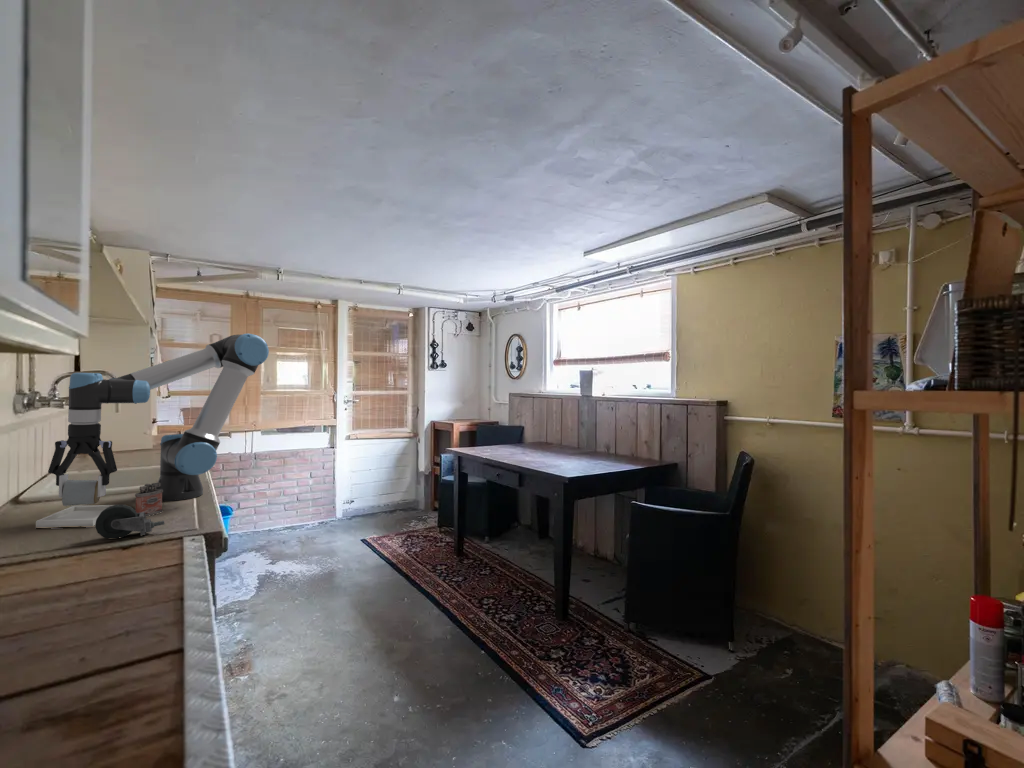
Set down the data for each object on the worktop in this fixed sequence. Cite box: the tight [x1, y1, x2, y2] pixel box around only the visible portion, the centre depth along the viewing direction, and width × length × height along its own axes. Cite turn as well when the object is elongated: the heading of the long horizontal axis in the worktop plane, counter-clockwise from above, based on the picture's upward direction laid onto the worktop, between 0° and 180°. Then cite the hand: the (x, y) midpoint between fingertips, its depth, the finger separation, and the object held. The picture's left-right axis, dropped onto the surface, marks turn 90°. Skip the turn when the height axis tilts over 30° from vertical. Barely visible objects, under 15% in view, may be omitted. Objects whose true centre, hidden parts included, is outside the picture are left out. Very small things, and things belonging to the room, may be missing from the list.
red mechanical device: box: [134, 481, 163, 517], centre depth 155 cm, size 8×3×10 cm, turn 162°
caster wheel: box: [94, 504, 165, 539], centre depth 135 cm, size 6×10×15 cm
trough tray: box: [35, 504, 114, 528], centre depth 147 cm, size 14×16×2 cm
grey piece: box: [61, 479, 101, 507], centre depth 148 cm, size 11×8×8 cm
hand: (82, 496), depth 147 cm, fingers closed on grey piece, 9 cm apart
